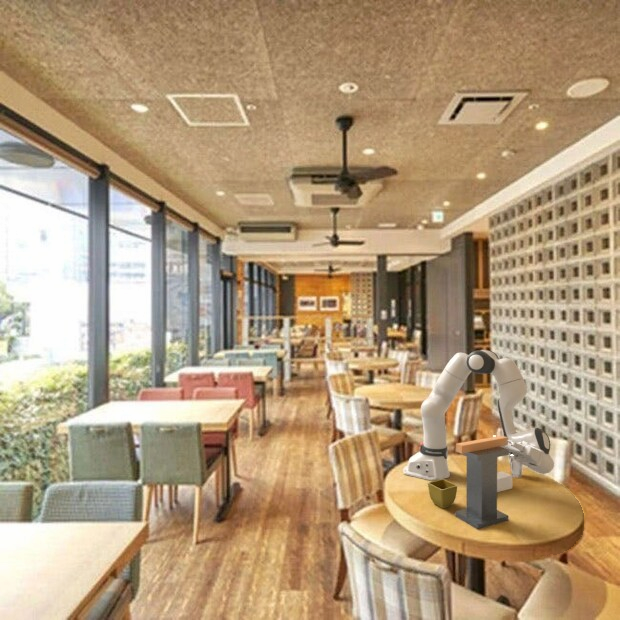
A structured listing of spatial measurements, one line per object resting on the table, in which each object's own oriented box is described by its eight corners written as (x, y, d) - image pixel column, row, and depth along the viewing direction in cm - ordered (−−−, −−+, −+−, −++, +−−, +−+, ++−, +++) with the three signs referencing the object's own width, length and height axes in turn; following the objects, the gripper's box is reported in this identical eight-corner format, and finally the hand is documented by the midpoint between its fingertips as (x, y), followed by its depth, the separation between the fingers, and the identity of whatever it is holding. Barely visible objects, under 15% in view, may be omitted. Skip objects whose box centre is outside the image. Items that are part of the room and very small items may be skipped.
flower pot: (441, 511, 192) (441, 489, 192) (427, 503, 200) (427, 482, 200) (457, 507, 196) (457, 485, 196) (442, 499, 204) (442, 478, 204)
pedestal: (477, 529, 177) (477, 455, 176) (455, 516, 188) (455, 446, 187) (508, 520, 184) (508, 449, 183) (485, 508, 195) (485, 441, 194)
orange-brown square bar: (461, 453, 179) (461, 445, 179) (456, 451, 182) (456, 443, 181) (507, 444, 189) (507, 437, 189) (501, 442, 192) (501, 435, 192)
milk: (502, 483, 220) (466, 492, 211) (502, 470, 220) (466, 479, 210) (512, 488, 215) (476, 497, 205) (512, 475, 215) (476, 484, 205)
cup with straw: (507, 471, 236) (507, 431, 235) (526, 474, 232) (527, 433, 232) (507, 477, 228) (507, 436, 227) (527, 480, 224) (527, 438, 224)
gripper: (506, 439, 205) (486, 426, 200) (548, 452, 187) (526, 439, 181) (501, 452, 204) (480, 440, 199) (542, 467, 185) (520, 455, 180)
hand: (503, 440), depth 190 cm, fingers open, 8 cm apart
